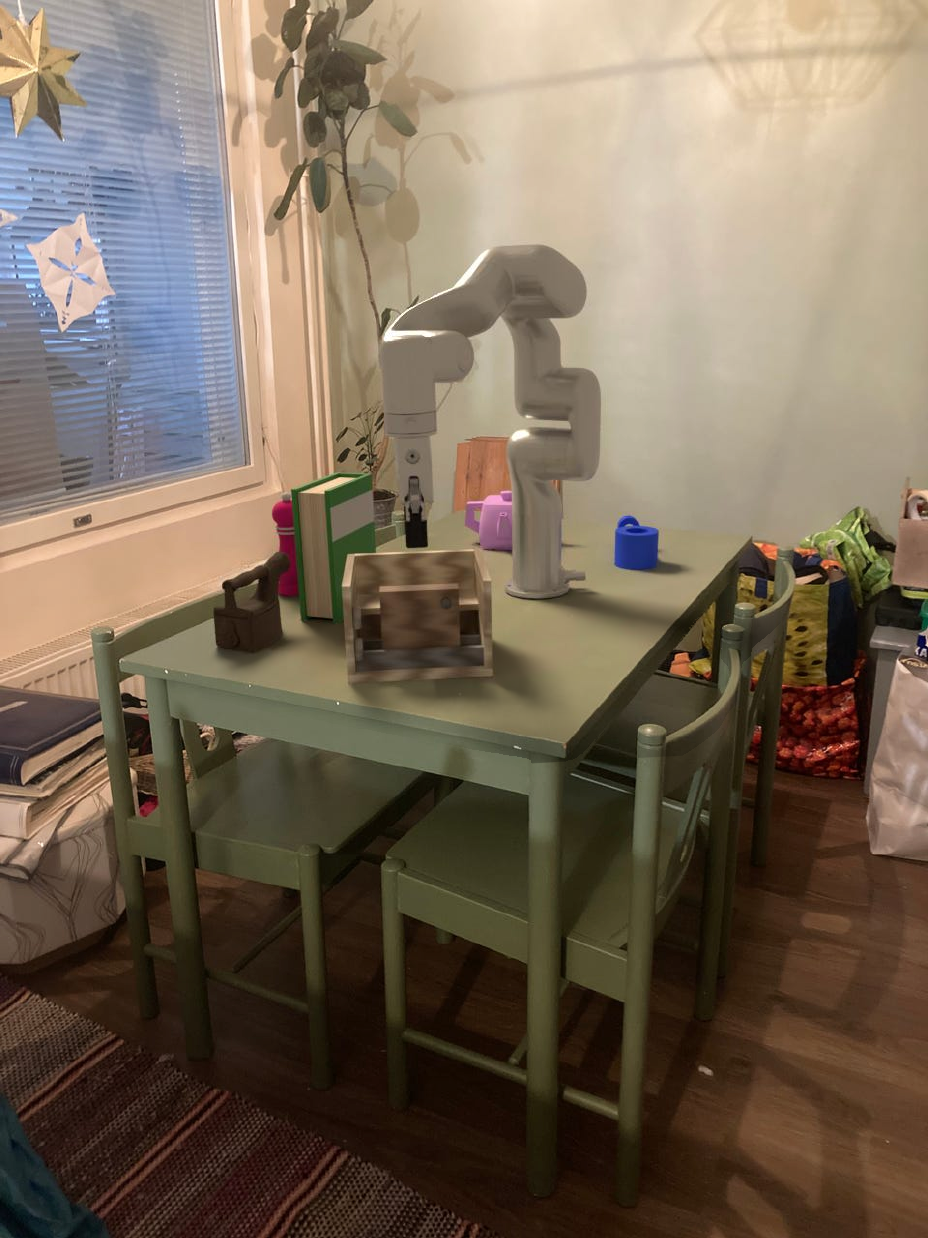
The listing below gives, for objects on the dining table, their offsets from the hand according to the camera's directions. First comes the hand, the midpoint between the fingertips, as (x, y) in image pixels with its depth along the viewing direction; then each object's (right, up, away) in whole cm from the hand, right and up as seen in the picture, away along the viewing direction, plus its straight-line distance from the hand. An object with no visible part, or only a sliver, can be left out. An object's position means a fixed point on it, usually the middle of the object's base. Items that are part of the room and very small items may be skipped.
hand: (416, 538), depth 147 cm
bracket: (+44, +1, +68) cm, 81 cm away
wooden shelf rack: (0, -18, +11) cm, 21 cm away
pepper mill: (-27, -7, +48) cm, 56 cm away
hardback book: (-16, -10, +38) cm, 42 cm away
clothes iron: (-28, -16, +22) cm, 39 cm away
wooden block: (+1, -19, +6) cm, 20 cm away
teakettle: (+18, +5, +82) cm, 85 cm away
